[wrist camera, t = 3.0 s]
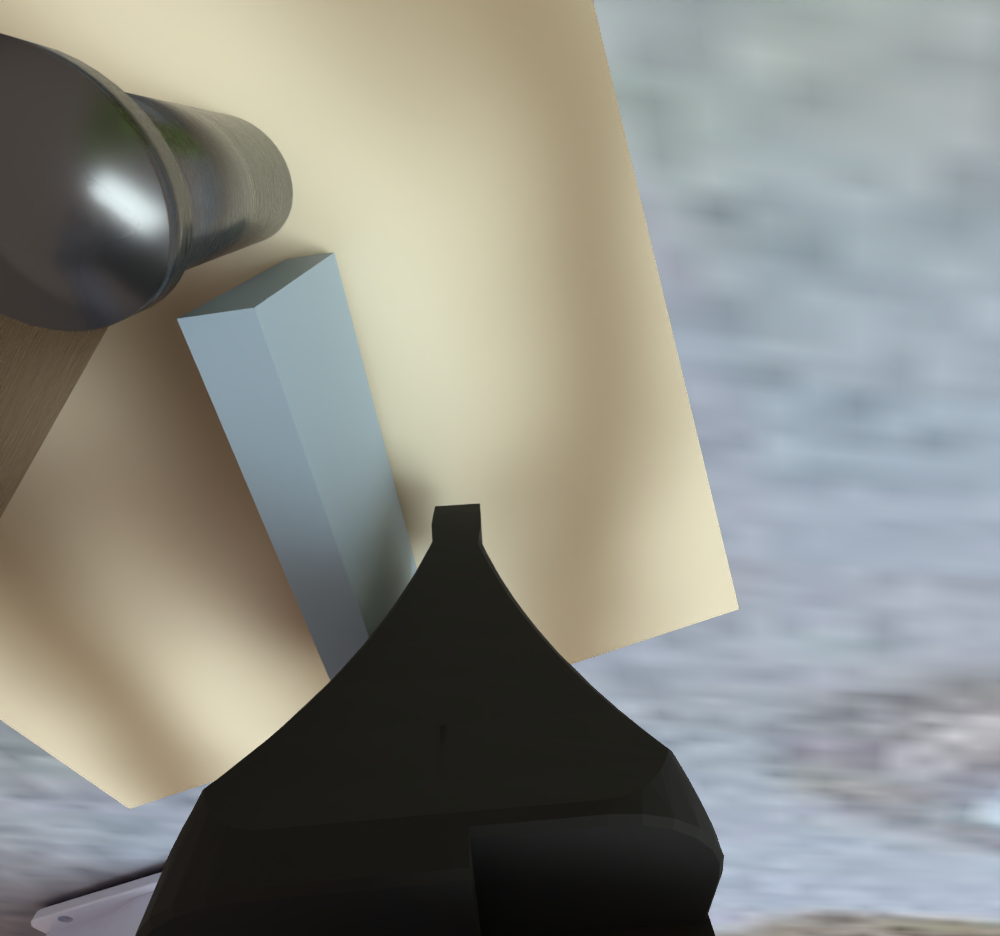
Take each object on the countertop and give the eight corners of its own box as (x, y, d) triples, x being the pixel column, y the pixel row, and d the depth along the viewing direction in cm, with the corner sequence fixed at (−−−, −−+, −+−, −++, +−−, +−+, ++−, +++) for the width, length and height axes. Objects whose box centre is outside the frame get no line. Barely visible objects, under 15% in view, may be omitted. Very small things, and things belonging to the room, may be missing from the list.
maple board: (148, 770, 17) (129, 808, 16) (-454, 312, 10) (-563, 328, 9) (719, 578, 15) (739, 609, 14) (509, -241, 7) (518, -310, 6)
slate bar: (287, 258, 9) (176, 319, 5) (333, 252, 9) (254, 307, 5) (410, 664, 14) (394, 831, 10) (440, 660, 14) (434, 825, 10)
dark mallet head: (187, 47, 8) (-126, -89, 4) (332, 176, 8) (215, 186, 4) (-81, 571, 12) (-374, 790, 8) (36, 621, 13) (-169, 840, 8)
